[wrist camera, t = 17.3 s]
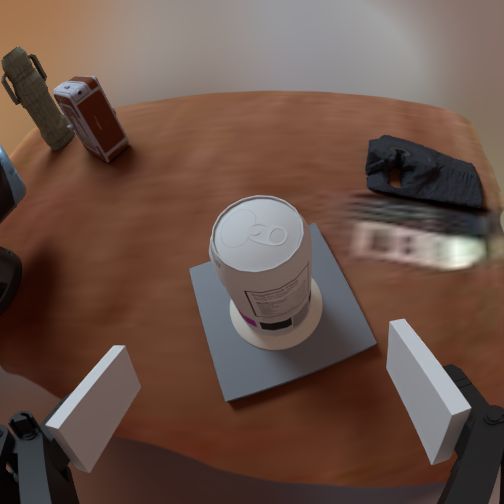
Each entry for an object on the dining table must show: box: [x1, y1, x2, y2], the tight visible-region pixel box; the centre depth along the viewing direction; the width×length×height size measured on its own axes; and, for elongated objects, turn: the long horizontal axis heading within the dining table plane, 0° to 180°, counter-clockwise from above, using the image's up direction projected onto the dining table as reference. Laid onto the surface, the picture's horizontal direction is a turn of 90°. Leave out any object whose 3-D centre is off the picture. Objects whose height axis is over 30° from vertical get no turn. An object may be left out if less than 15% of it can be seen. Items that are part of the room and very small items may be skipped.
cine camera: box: [53, 76, 129, 162], centre depth 56 cm, size 9×19×20 cm, turn 50°
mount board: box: [189, 223, 377, 402], centre depth 36 cm, size 18×18×2 cm
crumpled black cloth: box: [365, 135, 483, 208], centre depth 43 cm, size 15×22×5 cm
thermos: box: [2, 47, 74, 151], centre depth 58 cm, size 9×12×35 cm
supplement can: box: [209, 195, 312, 337], centre depth 29 cm, size 8×8×15 cm
